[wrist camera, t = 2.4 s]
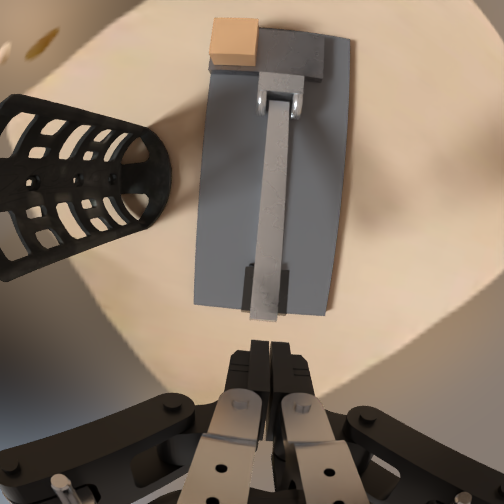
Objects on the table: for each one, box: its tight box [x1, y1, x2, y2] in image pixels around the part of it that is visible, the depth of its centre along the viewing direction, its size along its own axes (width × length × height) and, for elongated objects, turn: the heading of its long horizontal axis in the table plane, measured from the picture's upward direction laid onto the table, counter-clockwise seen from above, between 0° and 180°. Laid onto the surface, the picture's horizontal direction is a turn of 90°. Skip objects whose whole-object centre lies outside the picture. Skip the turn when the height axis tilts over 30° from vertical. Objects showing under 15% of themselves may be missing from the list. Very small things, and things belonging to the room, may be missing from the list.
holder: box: [0, 94, 171, 282], centre depth 22 cm, size 11×8×20 cm
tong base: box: [208, 29, 325, 267], centre depth 28 cm, size 27×11×3 cm, turn 175°
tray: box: [194, 28, 350, 316], centre depth 31 cm, size 30×14×1 cm, turn 175°
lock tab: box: [209, 18, 259, 66], centre depth 25 cm, size 4×4×3 cm
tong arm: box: [241, 100, 290, 322], centre depth 24 cm, size 19×3×1 cm, turn 176°
